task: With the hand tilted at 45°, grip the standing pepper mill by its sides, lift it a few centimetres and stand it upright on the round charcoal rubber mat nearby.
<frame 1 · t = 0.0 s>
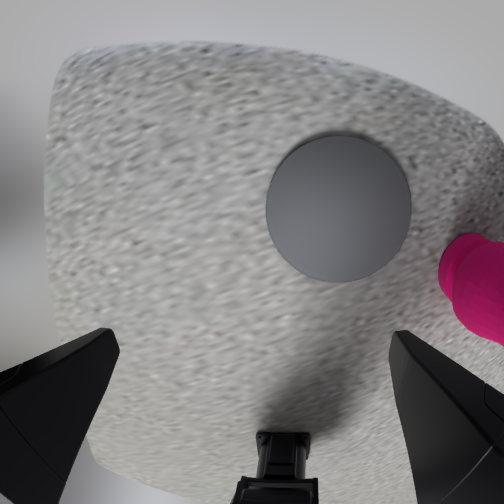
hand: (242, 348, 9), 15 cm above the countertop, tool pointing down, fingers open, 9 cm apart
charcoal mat: (340, 211, 21), on the countertop
pepper mill: (464, 265, 21), on the countertop
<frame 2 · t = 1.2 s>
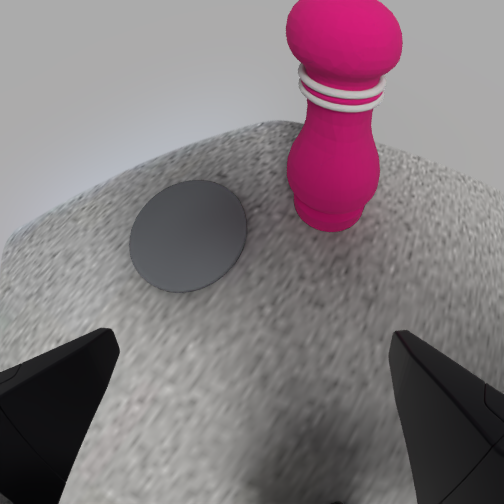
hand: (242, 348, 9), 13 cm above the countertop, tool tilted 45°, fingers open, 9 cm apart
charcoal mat: (186, 233, 26), on the countertop
pepper mill: (328, 203, 26), on the countertop
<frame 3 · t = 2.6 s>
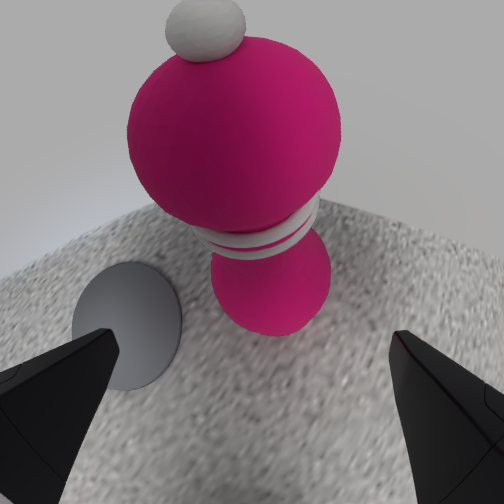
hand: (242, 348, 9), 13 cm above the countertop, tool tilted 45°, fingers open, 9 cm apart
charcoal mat: (122, 325, 23), on the countertop
pepper mill: (276, 296, 22), on the countertop
when the fingers open (11 cm above the countertop, at t = 8.2 s): pepper mill stays where it is, resting on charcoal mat.
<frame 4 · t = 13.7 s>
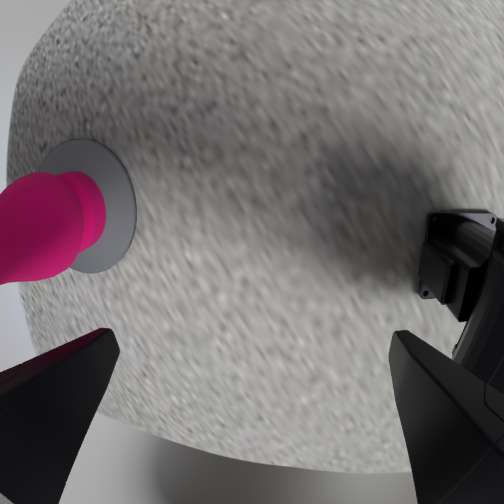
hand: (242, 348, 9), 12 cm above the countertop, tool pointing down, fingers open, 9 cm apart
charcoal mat: (80, 207, 21), on the countertop
pepper mill: (78, 209, 21), resting on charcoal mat
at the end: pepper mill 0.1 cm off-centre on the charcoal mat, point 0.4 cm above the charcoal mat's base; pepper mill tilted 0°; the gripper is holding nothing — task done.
